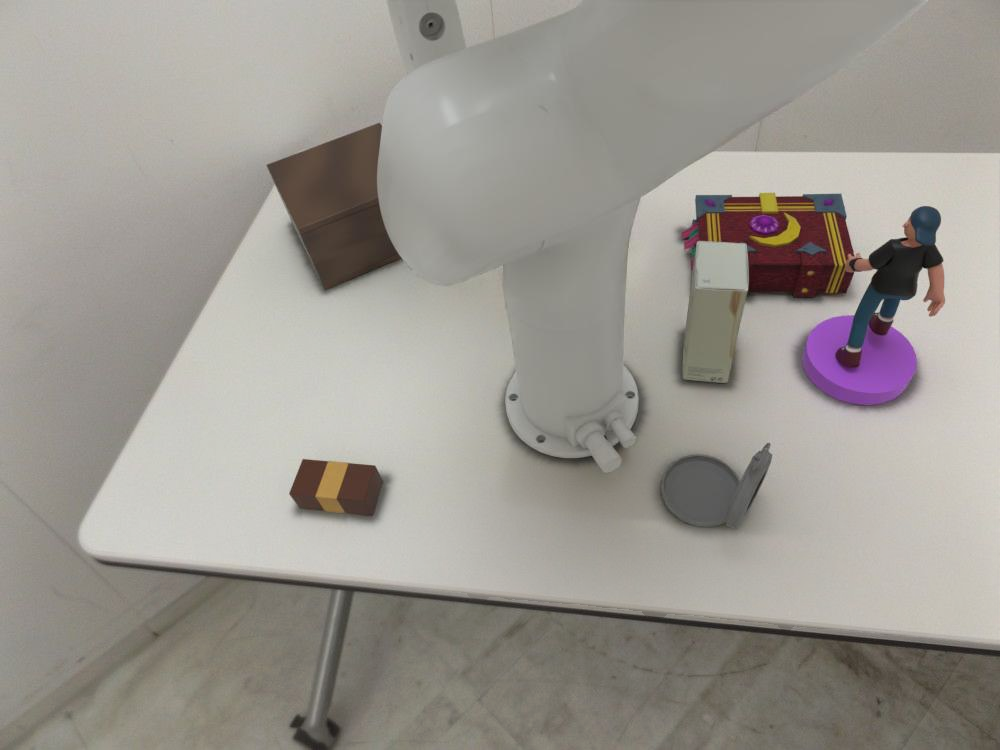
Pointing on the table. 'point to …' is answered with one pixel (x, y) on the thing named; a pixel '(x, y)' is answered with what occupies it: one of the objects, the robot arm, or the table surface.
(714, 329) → the cosmetic box
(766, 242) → the decorative book
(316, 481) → the chocolate bar
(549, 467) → the table surface
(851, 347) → the figurine
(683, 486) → the pocket watch
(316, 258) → the cabinet
